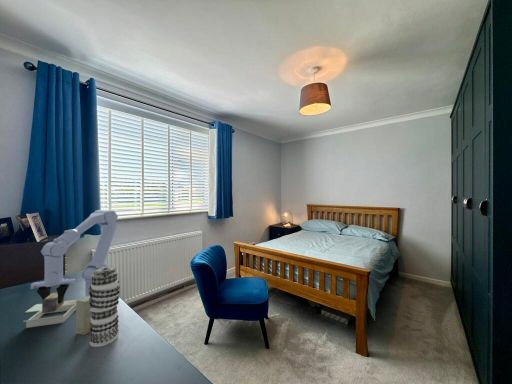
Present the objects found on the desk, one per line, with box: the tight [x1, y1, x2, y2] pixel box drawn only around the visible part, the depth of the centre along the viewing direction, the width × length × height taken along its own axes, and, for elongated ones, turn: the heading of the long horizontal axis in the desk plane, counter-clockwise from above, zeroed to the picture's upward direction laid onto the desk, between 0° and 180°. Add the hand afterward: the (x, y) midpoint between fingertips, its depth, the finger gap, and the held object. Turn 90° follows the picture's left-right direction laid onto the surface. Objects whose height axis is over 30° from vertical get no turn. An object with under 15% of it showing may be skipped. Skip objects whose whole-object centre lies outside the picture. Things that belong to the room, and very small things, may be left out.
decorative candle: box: [88, 266, 120, 348], centre depth 78 cm, size 9×9×25 cm
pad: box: [24, 303, 42, 314], centre depth 99 cm, size 7×7×1 cm
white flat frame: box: [22, 298, 80, 329], centre depth 91 cm, size 12×14×4 cm
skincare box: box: [75, 295, 92, 336], centre depth 83 cm, size 6×4×12 cm
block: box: [41, 292, 65, 314], centre depth 91 cm, size 4×7×5 cm, turn 17°
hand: (53, 303), depth 91 cm, fingers closed on block, 4 cm apart
